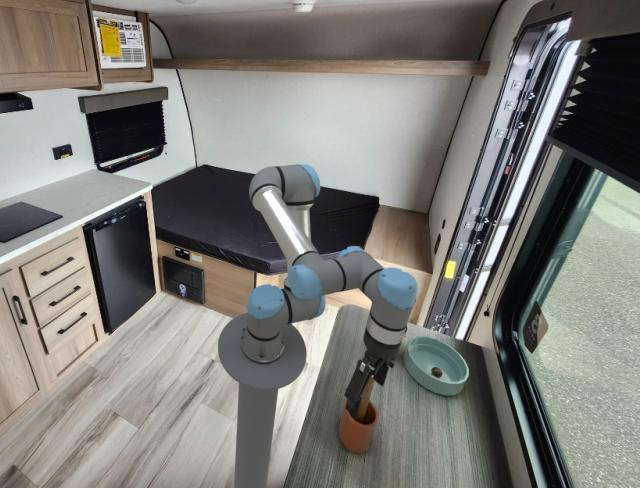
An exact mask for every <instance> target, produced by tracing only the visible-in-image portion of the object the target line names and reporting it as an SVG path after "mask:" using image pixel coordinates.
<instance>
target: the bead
mask: <svg viewBox="0 0 640 488" xmlns="http://www.w3.org/2000/svg"><path fill="white" fill-rule="evenodd" d="M431 372H432V374H433V376H435V377H437V378H440V377H441V376H442V371H441V370H440V369H439V368H438V367H433V368H432V369H431Z"/></svg>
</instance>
